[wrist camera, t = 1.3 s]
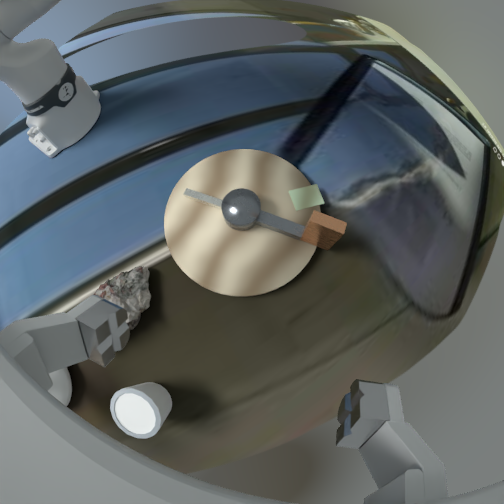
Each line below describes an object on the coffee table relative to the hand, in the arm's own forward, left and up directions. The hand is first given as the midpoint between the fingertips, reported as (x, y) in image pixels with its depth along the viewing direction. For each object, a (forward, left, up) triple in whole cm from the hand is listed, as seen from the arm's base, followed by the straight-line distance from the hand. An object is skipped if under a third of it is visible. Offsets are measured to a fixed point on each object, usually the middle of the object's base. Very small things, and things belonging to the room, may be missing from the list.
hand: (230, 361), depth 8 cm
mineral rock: (-18, -5, -27) cm, 33 cm away
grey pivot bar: (-4, +14, -25) cm, 29 cm away
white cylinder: (-8, -15, -27) cm, 32 cm away
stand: (-6, +14, -27) cm, 31 cm away
